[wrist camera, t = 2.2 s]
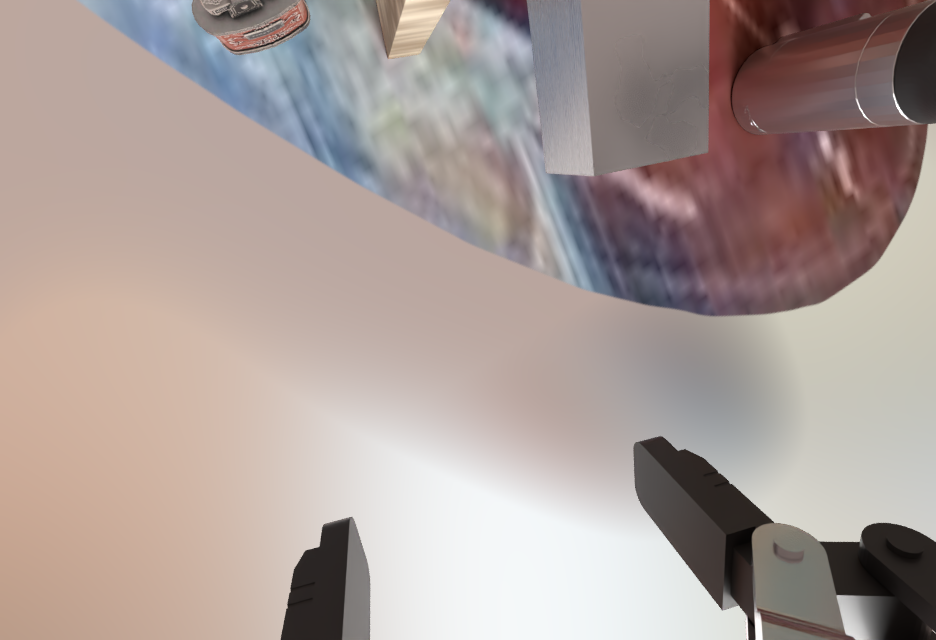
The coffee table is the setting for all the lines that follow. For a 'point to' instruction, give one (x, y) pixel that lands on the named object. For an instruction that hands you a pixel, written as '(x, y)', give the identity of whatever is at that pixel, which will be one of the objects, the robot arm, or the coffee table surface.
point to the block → (620, 82)
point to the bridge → (408, 24)
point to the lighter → (251, 22)
